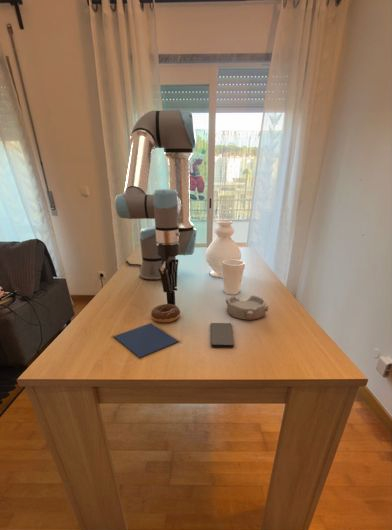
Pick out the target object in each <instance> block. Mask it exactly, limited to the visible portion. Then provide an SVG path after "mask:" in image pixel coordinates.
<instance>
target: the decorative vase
mask: <svg viewBox="0 0 392 530" xmlns="http://www.w3.org/2000/svg"><path fill="white" fill-rule="evenodd" d="M216 224H217V226H216V227H215V228H214V230H213V231H214V234H215V235H216V237H215V238H214V239H213V240H212V241H211V242H210V244H209V245H208V247H207V249H206V251H205V255H204V257H205V261H206V263H207V265H208V266H209V267H210V268H211V270H210V272H209V274H210V276H212V277H214V278H215V277H216V278H219V279H221V278H222V279H223V268H222V262H223V261H224V260H228V259H237V260H241V259H242V253H241V250H240V247H239V246H238V243H236V241H235V240H234V239H233V238H232V237H231V236H232V235H234V233H235V228H234V227H233V226H232V224H233V220H229V219H226V220H225V219H222V220H216Z"/></svg>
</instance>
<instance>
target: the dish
mask: <svg viewBox="0 0 392 530" xmlns="http://www.w3.org/2000/svg"><path fill="white" fill-rule="evenodd" d="M225 303H226V305H227V307H226V309H227V312H228V314H229V315H231V316H232V317H234V318H237V319H242V320H256V319H257V320H258V319H260V318H262V317H263V316H265V315H266V312H268V311H269V305H268V304H267V301H266V300H265V298H262V297H260V296H257V295H251V296H250V297H249V298H248V299H246V300H240V299H239V298H237V297H236V295H231V296H230V297H227V298H225Z"/></svg>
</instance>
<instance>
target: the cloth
mask: <svg viewBox="0 0 392 530" xmlns="http://www.w3.org/2000/svg"><path fill="white" fill-rule="evenodd" d="M113 338H114V339H115V340H117V342H119V343H120V344H122V345H123V346H124V347H125V348H126V349H128V350H129V351H130V352H131V353H132V354H134V356H136V357H137V358H139V359H141V358H144V357H146V356H148V355H150V354H153V353H155V352H159V351H160V350H163V349H165V348H167V347H170V346H173V345H175V344H177V343H179V340H178V339H176V338H174V337H173V336H171V335H169V334H168V333H166V332H165V331H164V330H162V329H160V328H158V326H156V325H154V324H152V323H151V322H150V323H148V324H145V325H142V326H139V327H137V328H133V329H131V330H128V331H126V332H122V333H120V334H116V335H113Z"/></svg>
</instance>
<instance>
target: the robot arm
mask: <svg viewBox="0 0 392 530" xmlns="http://www.w3.org/2000/svg"><path fill="white" fill-rule="evenodd" d="M129 144H130V147H131V148H130V155H129V161H128V168H127V174H126V181H125V186H124V192H123V193H121V194H117V195H116V196H115V200H114V205H115V206H114V207H115V211H116V214H117V216H118V217H119V218H121V219H126V220H127V219H128V220H143V219H145V220H149V219H150V220H154V224H155V225H150V226H146V227H143V228H141V230H140V231H139V241H140V251H141V260H142V261H141V263H140V264H139V263H130V262H129V260H128V259H126V260H125V264H127V265H129V266H136V267H140V271H139V277H140V279H143V280H146V281H160V280H161V285H162V291H163V293H165V294H166V304H173V305H175V306H176V292H175V291H178V288H177V286H178V269H179V267H178V266H179V259H178V258H176V257H177V256H191V255H193V254H194V252H195V247H196V240H197V229H196V228H194V224H193V222H191V195H190V194H191V191H190V187H191V186H190V158H191V157H192V156H193V154H194V149H195V148H197V137H196V127H195V119H194V115H193V112H192V111H191V110H184V109H169V110H168V109H167V110H150V111H147V112H146V113H144V114H143V115H142V116H141V117H139V119H138V120H137V121H136V122H135V124H134V126H133V127H132V129H131V131H130V137H129ZM155 149H163V154H164V155H165V156H166V157H167V159H168V180H169V188H168V189H167V188H165V189H164V188H163V189H162V188H161V189H155V190H154V191H153V193H152V194H148V193H147V191H148V183H149V178H150V168H151V161H152V155H153V153H154V152H155Z"/></svg>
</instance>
